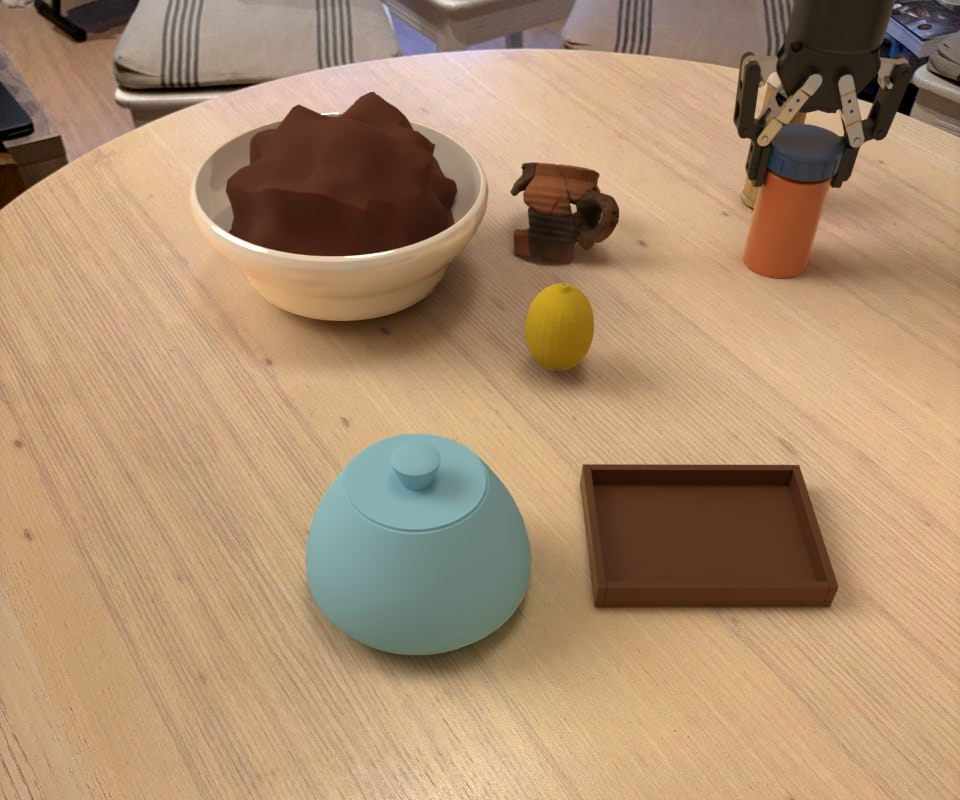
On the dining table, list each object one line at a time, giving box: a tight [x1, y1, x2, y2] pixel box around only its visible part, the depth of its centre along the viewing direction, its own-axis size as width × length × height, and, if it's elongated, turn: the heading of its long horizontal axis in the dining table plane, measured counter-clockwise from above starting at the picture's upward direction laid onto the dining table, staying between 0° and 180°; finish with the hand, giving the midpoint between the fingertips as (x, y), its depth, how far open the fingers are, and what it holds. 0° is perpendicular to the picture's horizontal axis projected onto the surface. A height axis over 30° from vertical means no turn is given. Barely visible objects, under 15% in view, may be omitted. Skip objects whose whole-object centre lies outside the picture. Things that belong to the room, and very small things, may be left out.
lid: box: [767, 123, 845, 181], centre depth 89 cm, size 6×6×2 cm
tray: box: [579, 463, 840, 608], centre depth 72 cm, size 16×12×2 cm
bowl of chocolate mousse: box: [189, 91, 489, 322], centre depth 87 cm, size 25×25×15 cm
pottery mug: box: [509, 161, 620, 263], centre depth 96 cm, size 12×10×8 cm
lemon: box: [524, 282, 595, 372], centre depth 82 cm, size 6×6×8 cm
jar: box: [742, 167, 833, 279], centre depth 93 cm, size 6×6×11 cm
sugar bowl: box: [305, 433, 532, 656], centre depth 66 cm, size 15×15×12 cm
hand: (794, 182), depth 91 cm, fingers closed on lid, 6 cm apart
